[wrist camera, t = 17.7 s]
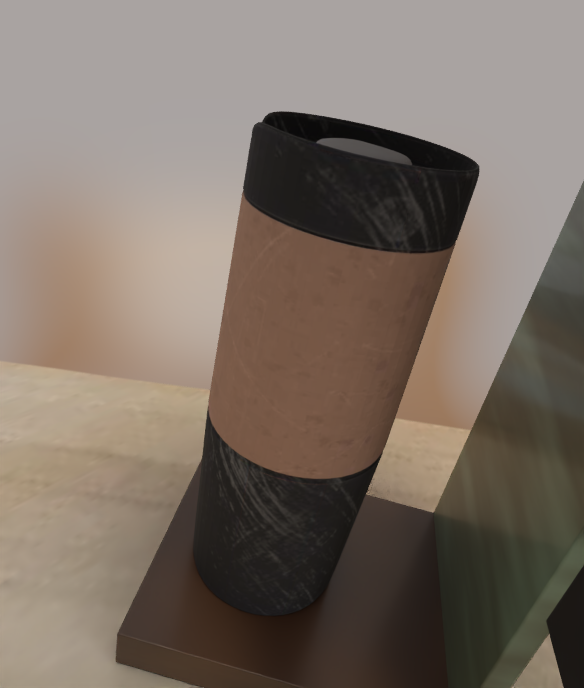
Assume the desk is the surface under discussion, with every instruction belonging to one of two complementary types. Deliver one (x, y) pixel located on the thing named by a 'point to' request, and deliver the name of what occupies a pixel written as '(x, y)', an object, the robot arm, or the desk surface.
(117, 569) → the desk surface
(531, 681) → the desk surface
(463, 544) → the shelf
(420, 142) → the travel mug
